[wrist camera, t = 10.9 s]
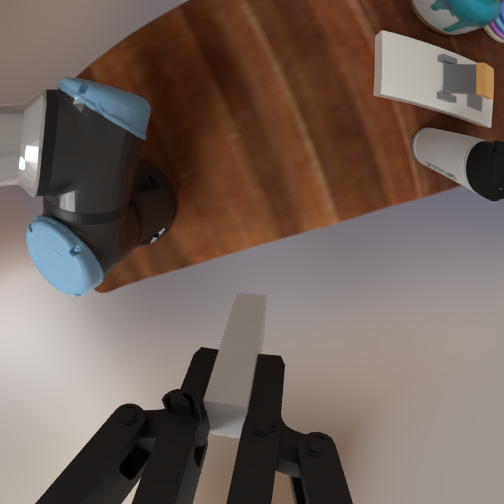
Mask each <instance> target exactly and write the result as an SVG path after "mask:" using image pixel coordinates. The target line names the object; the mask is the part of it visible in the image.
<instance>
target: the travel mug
mask: <svg viewBox="0 0 504 504" xmlns="http://www.w3.org/2000/svg"><path fill="white" fill-rule="evenodd" d="M412 152H413V155H414V157H415V158H416V160H417V161H418V162H419V163H421V164H423V165H425V166H427V167H429V168H431V169H433V170H435V171H437V172H439V173H441V174H443V175H444V176H446V177H448V178H450V179H452V180H454V181H456V182H457V183H459V184H461V185H463V186H465V187H467V188H468V189H470V190H471V191H473V192H475V193H477V194H479V195H481V196H483V197H484V198H487V199H489V200H490V201H498V200H500V199H503V198H504V142H503V141H494V142H493V143H492V142H490V141H487V140H483V139H479V138H475V137H471V136H467V135H463V134H458V133H454V132H449V131H444V130H439V129H434V128H427V127H426V128H422V129H420V130H418V131H417V132H416V133H415V135H414V136H413V139H412Z"/></svg>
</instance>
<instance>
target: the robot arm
mask: <svg viewBox="0 0 504 504" xmlns="http://www.w3.org/2000/svg"><path fill="white" fill-rule="evenodd" d="M57 88H58V89H56V90H50V89H44V90H43V89H42V90H41V91H40V92H38V93H37V94H36V95H35V96H34V97H33V98H32V99H31V100H30V101H28V102H27V103H24V104H7V105H0V186H5V185H14V184H18V185H20V186H22V187H23V188H24V189H25V190H26V191H27V192H28V193H29V194H30V195H31V196H32V197H33V196H43V213H42V215H40V216H38V217H35V218H34V220H33V222H32V223H31V224H30V225H29V226H28V230H27V234H26V241H27V247H28V251H29V254H30V256H31V259H32V261H33V263H34V264H35V266H36V268H37V269H38V270H39V272H40V273H41V274H42V276H43V277H44V278H45V279H46V280H47V281H48V282H49V283H50V284H51V285H52V286H53V287H55V288H56V289H58V290H59V291H61V292H63V293H65V294H68V295H71V296H81V295H85V294H87V293H89V292H90V291H91V290H93V289H94V288H95V287H97V286H98V285H100V284H101V283H102V282H103V279H104V278H105V277H106V276H107V275H108V274H109V273H110V272H111V271H112V270H113V269H114V268H115V267H116V266H117V265H118V264H119V263H120V262H121V261H122V260H123V259H124V258H125V257H126V256H127V255H128V254H129V253H130V252H131V251H132V250H133V249H134V248H137V247H141V246H145V245H148V244H151V243H153V242H155V241H156V240H158V239H159V238H160V237H161V236H162V235H163V234H164V233H165V232H166V231H167V230H168V228H169V227H170V225H171V223H172V221H173V217H174V212H175V202H174V196H173V192H172V190H171V187H170V185H169V183H168V182H167V180H166V179H165V177H164V176H163V175H162V174H161V173H160V172H159V171H158V170H157V169H155V168H154V167H152V166H151V165H149V164H146V163H143V162H139V158H140V154H141V150H142V147H143V143H144V140H146V138H147V137H146V130H147V126H148V122H149V118H150V113H151V108H150V105H149V103H148V102H147V100H145V99H144V98H142V97H140V96H138V95H135V94H133V93H130V92H127V91H124V90H121V89H118V88H114V87H111V86H107V85H104V84H100V83H96V82H92V81H88V80H83V79H78V78H71V77H63V78H62V79H61V81H60V83H58V85H57ZM265 311H266V295H255V294H245V293H237V294H236V297H235V300H234V303H233V306H232V310H231V313H230V316H229V319H228V323H227V326H226V329H225V332H224V335H223V339H222V342H221V345H220V349H219V350H217V349H211V348H204V347H201V348H200V349H199V350H198V351H197V352H196V353H195V354H194V355H193V358H192V360H191V363H190V366H189V368H188V372H187V374H186V376H185V379H184V381H183V384H182V386H181V389H176V390H172V391H170V392H168V393H167V394H165V396H164V397H163V399H162V401H163V404H164V407H165V409H161V410H143V409H142V408H141V407H139V406H138V405H136V404H124V405H121V406H120V407H119V408H117V409H116V410H115V411H114V413H113V414H112V415H111V416H110V417H109V418H108V420H107V421H106V422H105V423H104V424H103V425H102V427H101V428H100V429H99V430H98V431H97V432H96V434H95V435H94V436H93V437H92V438H91V439H90V441H89V442H88V443H87V444H86V445H85V446H84V447H83V449H82V450H81V451H80V452H79V453H78V455H77V456H76V457H75V458H74V459H73V460H72V461H71V463H70V464H69V465H68V466H67V467H66V468H65V470H64V471H63V472H62V473H61V474H60V476H59V477H58V478H57V479H56V480H55V481H54V483H53V484H52V485H51V486H50V487H49V488H48V489H47V491H46V492H45V493H44V494H43V495H42V496H41V498H40V499H39V500H38V501H37V502H36V503H35V504H121V503H122V502H123V501H124V499H125V498H126V497H127V496H128V494H129V493H130V492H131V490H132V489H133V487H134V486H135V485H136V483H137V482H138V481H139V479H140V478H141V479H140V482H139V485H138V488H137V490H136V493H135V496H134V499H133V501H132V504H193V500H194V496H195V492H196V488H197V484H198V481H199V477H200V474H201V469H202V466H203V462H204V458H205V455H206V451H207V447H208V440H207V437H208V434H209V430H210V432H211V434H214V435H220V436H227V437H234V438H240V442H239V446H238V451H237V456H236V461H235V466H234V471H233V475H232V480H231V485H230V490H229V494H228V499H227V504H271V501H272V494H273V486H274V478H275V470H276V471H278V472H281V473H284V474H287V475H289V478H290V483H291V488H292V493H293V498H294V503H295V504H353V502H352V499H351V496H350V492H349V489H348V485H347V483H346V479H345V475H344V472H343V469H342V466H341V463H340V459H339V456H338V453H337V449H336V446H335V443H334V441H333V440H332V438H331V437H329V436H328V435H327V434H323V433H321V432H312V433H309V434H302V433H300V432H297V431H294V430H292V429H290V428H289V427H288V426H286V425H285V423H284V422H283V420H282V418H281V406H282V395H283V383H284V371H285V364H284V362H283V360H282V357H281V356H277V355H266V354H261V352H262V345H263V339H264V328H265ZM141 476H142V477H141Z"/></svg>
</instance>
